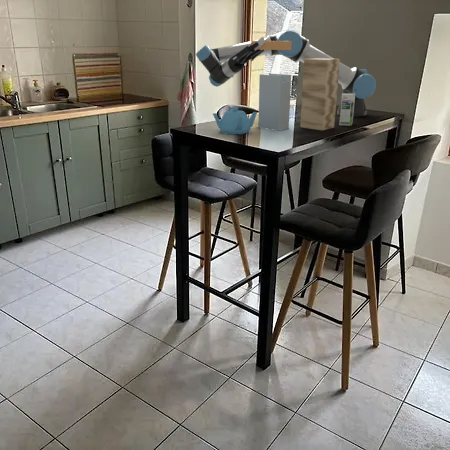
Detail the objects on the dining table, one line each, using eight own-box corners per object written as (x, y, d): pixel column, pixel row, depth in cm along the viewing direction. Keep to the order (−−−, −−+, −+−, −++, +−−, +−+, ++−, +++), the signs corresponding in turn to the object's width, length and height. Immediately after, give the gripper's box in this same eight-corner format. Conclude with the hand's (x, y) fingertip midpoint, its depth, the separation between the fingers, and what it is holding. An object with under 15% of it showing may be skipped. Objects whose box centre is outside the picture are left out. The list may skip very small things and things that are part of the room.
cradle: (268, 125, 220) (270, 73, 211) (288, 128, 213) (291, 74, 204) (258, 127, 215) (259, 74, 206) (278, 130, 208) (280, 76, 199)
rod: (255, 49, 211) (256, 40, 209) (291, 49, 198) (291, 41, 197) (250, 49, 208) (250, 40, 207) (286, 50, 196) (286, 41, 194)
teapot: (259, 131, 207) (259, 106, 203) (240, 137, 195) (241, 111, 191) (230, 127, 215) (230, 104, 211) (211, 133, 203) (211, 108, 199)
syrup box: (338, 125, 219) (341, 93, 213) (340, 123, 224) (343, 92, 219) (351, 126, 217) (354, 94, 212) (352, 124, 222) (355, 92, 217)
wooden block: (312, 124, 222) (317, 58, 211) (334, 127, 214) (340, 58, 203) (300, 127, 215) (304, 58, 204) (322, 130, 208) (327, 59, 196)
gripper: (247, 72, 226) (281, 47, 208) (224, 74, 215) (257, 48, 198) (242, 57, 226) (275, 31, 208) (218, 59, 215) (251, 31, 197)
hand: (267, 39), depth 203 cm, fingers closed on rod, 3 cm apart
